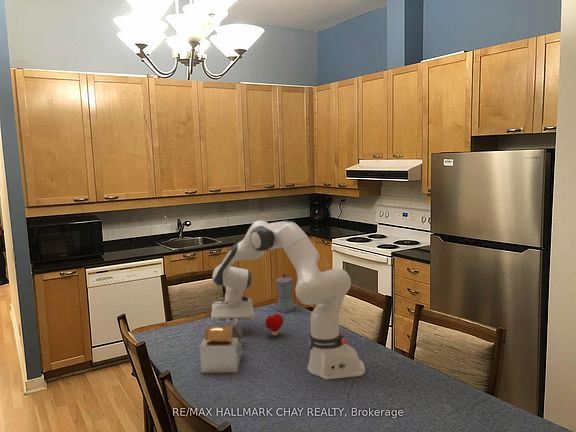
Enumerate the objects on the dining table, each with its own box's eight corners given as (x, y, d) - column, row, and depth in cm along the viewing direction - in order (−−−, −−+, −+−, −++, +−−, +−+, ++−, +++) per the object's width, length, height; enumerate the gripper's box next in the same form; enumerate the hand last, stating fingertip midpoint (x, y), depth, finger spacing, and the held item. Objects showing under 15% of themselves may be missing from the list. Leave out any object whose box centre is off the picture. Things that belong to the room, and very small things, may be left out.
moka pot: (274, 314, 258) (273, 277, 255) (279, 304, 273) (278, 270, 270) (292, 314, 257) (291, 277, 254) (296, 305, 272) (295, 270, 269)
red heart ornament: (271, 340, 223) (271, 319, 221) (262, 336, 228) (261, 315, 227) (287, 335, 229) (286, 314, 227) (277, 331, 234) (276, 311, 233)
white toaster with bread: (242, 354, 209) (240, 315, 207) (237, 372, 192) (235, 330, 190) (208, 354, 209) (206, 316, 207) (200, 372, 193) (198, 331, 190)
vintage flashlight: (230, 337, 227) (229, 317, 224) (244, 342, 223) (243, 321, 220) (213, 349, 217) (212, 328, 214) (227, 354, 213) (226, 333, 210)
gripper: (211, 298, 234) (208, 325, 225) (253, 297, 233) (252, 324, 225) (213, 304, 239) (210, 331, 231) (255, 304, 238) (253, 330, 230)
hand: (231, 328), depth 228 cm, fingers closed
